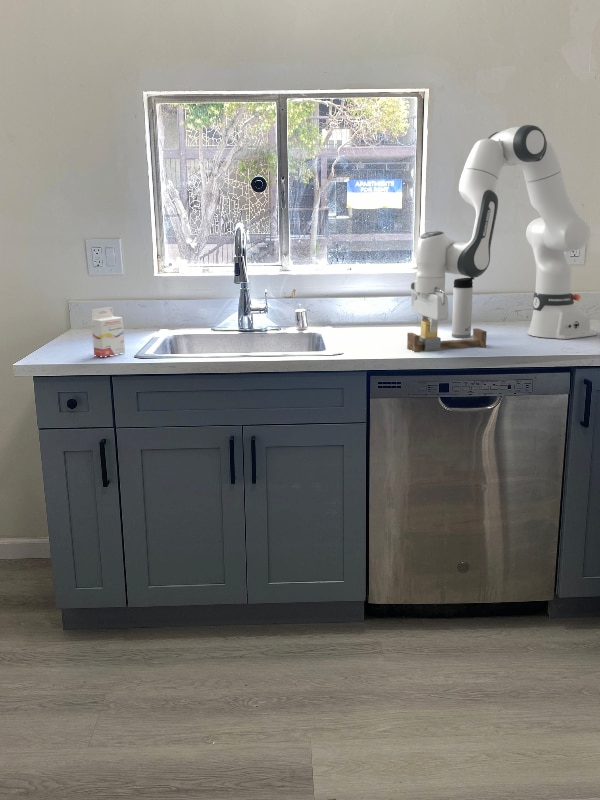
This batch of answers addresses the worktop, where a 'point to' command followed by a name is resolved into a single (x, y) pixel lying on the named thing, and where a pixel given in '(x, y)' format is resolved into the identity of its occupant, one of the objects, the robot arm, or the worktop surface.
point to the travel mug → (462, 307)
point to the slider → (429, 336)
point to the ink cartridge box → (107, 332)
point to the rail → (449, 341)
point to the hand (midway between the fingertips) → (428, 330)
